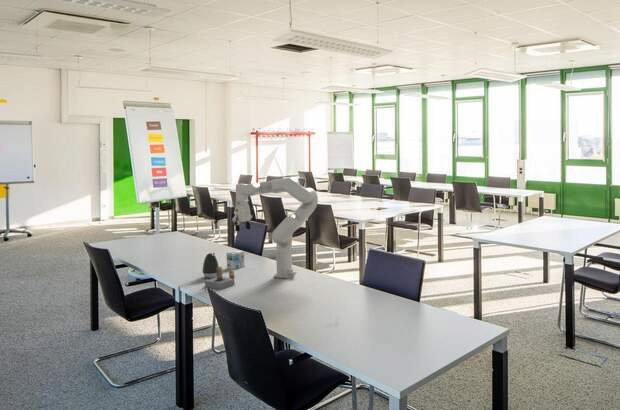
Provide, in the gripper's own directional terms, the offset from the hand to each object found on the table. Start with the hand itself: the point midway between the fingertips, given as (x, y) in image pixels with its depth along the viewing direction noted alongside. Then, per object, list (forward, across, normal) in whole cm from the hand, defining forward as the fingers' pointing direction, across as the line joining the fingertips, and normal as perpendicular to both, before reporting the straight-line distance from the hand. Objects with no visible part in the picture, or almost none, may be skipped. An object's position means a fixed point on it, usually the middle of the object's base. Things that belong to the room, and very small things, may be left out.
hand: (242, 230), depth 311 cm
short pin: (+28, -12, -1) cm, 31 cm away
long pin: (+28, -28, -7) cm, 40 cm away
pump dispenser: (+28, -17, +12) cm, 35 cm away
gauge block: (+28, -28, -7) cm, 40 cm away
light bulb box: (+29, +10, +17) cm, 35 cm away
